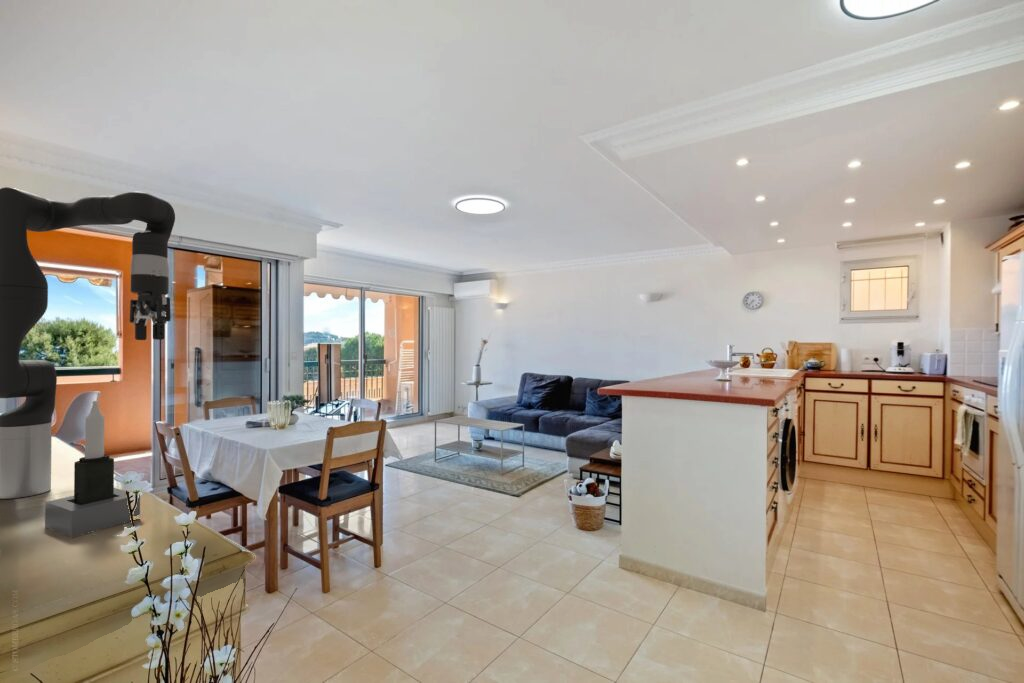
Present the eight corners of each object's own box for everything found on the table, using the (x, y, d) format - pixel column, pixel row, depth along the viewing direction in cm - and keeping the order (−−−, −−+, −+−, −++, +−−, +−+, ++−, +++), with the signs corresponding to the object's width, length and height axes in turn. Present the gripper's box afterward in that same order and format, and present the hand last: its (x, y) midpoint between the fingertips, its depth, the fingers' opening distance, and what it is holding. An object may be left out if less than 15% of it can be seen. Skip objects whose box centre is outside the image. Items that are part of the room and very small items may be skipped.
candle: (116, 519, 97) (117, 399, 97) (86, 528, 92) (87, 402, 93) (100, 517, 99) (101, 399, 99) (71, 525, 94) (72, 401, 94)
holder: (44, 526, 93) (45, 501, 93) (112, 510, 103) (112, 487, 103) (71, 537, 88) (71, 511, 88) (139, 518, 97) (140, 494, 97)
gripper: (117, 275, 116) (117, 340, 116) (147, 270, 110) (146, 339, 109) (152, 279, 123) (151, 340, 122) (182, 274, 116) (181, 339, 116)
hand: (149, 339), depth 116 cm, fingers open, 8 cm apart
